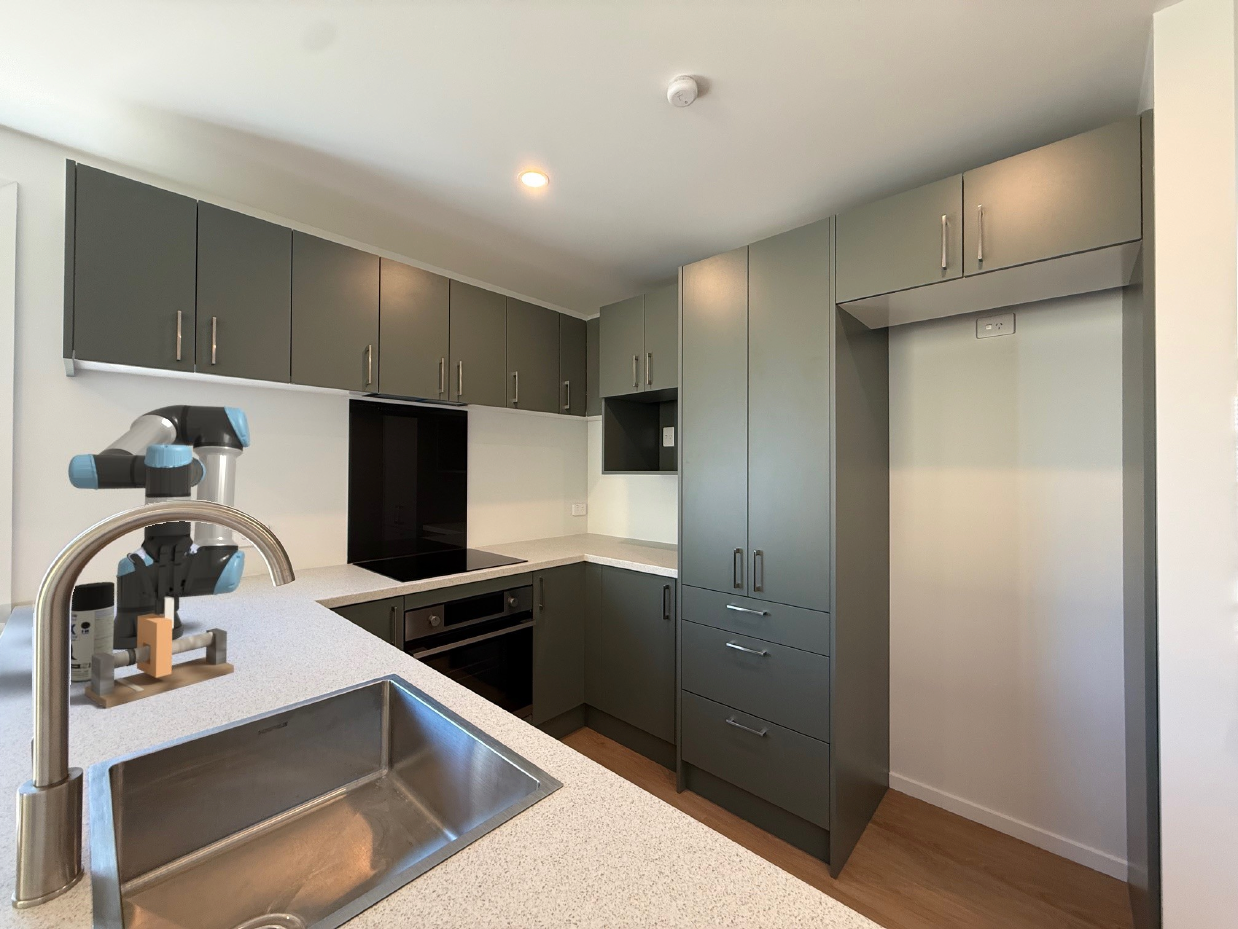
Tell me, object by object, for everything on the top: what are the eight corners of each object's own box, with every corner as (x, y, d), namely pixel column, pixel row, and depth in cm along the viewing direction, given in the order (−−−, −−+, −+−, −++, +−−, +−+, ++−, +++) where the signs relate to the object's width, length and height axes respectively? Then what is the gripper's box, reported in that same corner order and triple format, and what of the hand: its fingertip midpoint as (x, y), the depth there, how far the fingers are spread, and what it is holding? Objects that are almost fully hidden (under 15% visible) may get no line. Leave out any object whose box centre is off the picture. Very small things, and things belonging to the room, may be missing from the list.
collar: (151, 664, 113) (152, 613, 113) (171, 673, 108) (172, 620, 108) (136, 668, 111) (137, 616, 111) (156, 677, 106) (156, 623, 106)
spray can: (69, 676, 114) (70, 584, 114) (112, 668, 119) (113, 580, 119) (69, 685, 109) (71, 589, 110) (114, 676, 114) (116, 584, 115)
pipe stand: (209, 662, 123) (209, 625, 123) (233, 672, 117) (234, 633, 117) (84, 694, 105) (85, 651, 105) (106, 708, 98) (107, 662, 99)
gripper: (135, 520, 104) (133, 639, 104) (212, 515, 115) (210, 623, 115) (121, 518, 108) (119, 633, 107) (196, 514, 119) (195, 618, 119)
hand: (166, 628), depth 111 cm, fingers closed
